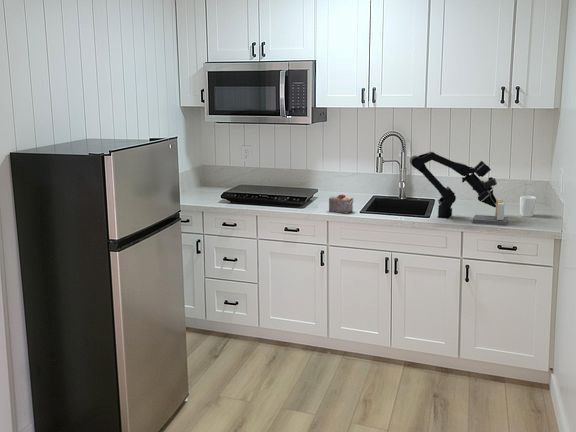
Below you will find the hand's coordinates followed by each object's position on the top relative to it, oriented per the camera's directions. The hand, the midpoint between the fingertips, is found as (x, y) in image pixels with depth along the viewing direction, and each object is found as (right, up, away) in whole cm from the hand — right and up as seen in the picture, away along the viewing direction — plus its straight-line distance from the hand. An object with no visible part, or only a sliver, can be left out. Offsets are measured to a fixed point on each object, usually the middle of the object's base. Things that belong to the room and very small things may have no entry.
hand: (496, 205), depth 306 cm
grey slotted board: (-5, -9, -5) cm, 11 cm away
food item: (-79, -3, +25) cm, 83 cm away
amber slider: (0, -6, -4) cm, 7 cm away
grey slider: (-2, -7, -10) cm, 12 cm away
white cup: (+19, -6, +7) cm, 21 cm away
